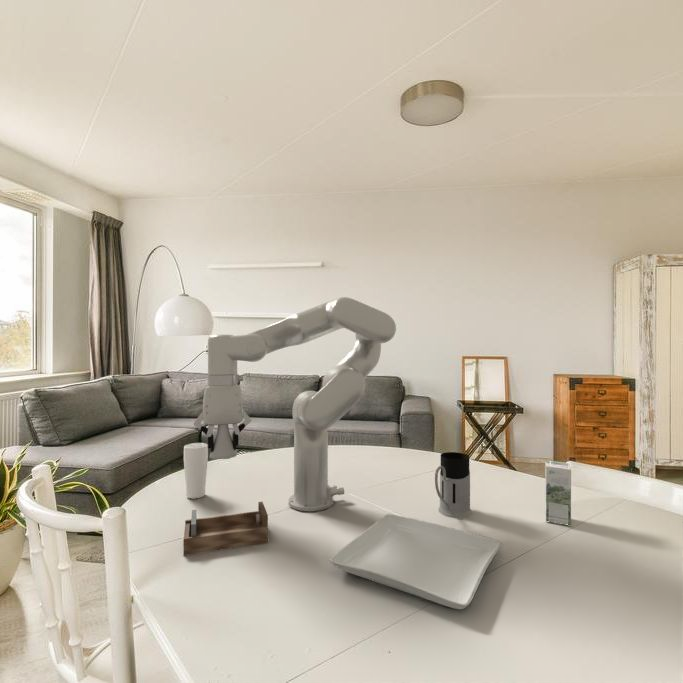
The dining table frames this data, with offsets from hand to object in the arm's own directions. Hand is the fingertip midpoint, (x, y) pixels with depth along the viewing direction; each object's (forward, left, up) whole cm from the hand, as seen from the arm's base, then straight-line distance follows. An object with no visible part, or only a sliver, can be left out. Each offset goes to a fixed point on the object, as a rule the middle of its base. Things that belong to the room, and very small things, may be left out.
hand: (223, 449), depth 112 cm
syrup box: (-81, +31, -17) cm, 88 cm away
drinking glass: (+7, -16, -17) cm, 25 cm away
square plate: (-37, +39, -18) cm, 57 cm away
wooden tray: (0, +15, -17) cm, 23 cm away
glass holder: (-57, +19, -17) cm, 62 cm away
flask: (0, 0, -2) cm, 2 cm away
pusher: (+7, +15, -16) cm, 23 cm away
